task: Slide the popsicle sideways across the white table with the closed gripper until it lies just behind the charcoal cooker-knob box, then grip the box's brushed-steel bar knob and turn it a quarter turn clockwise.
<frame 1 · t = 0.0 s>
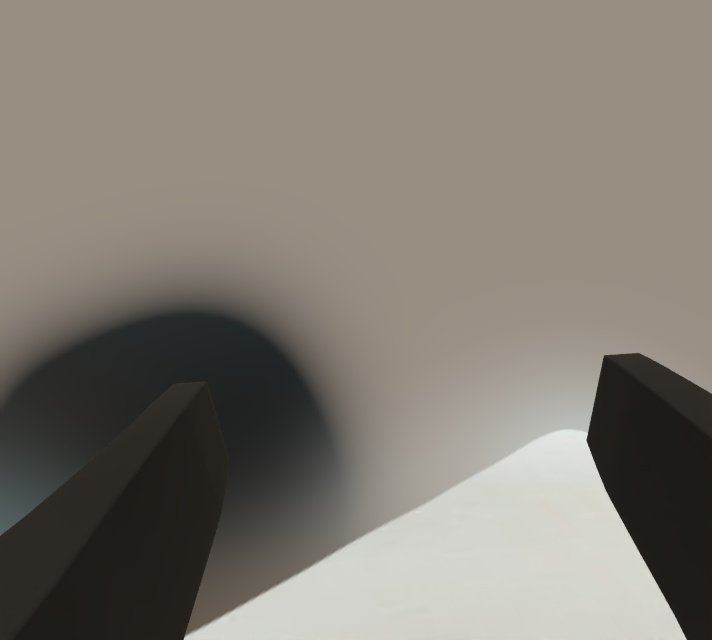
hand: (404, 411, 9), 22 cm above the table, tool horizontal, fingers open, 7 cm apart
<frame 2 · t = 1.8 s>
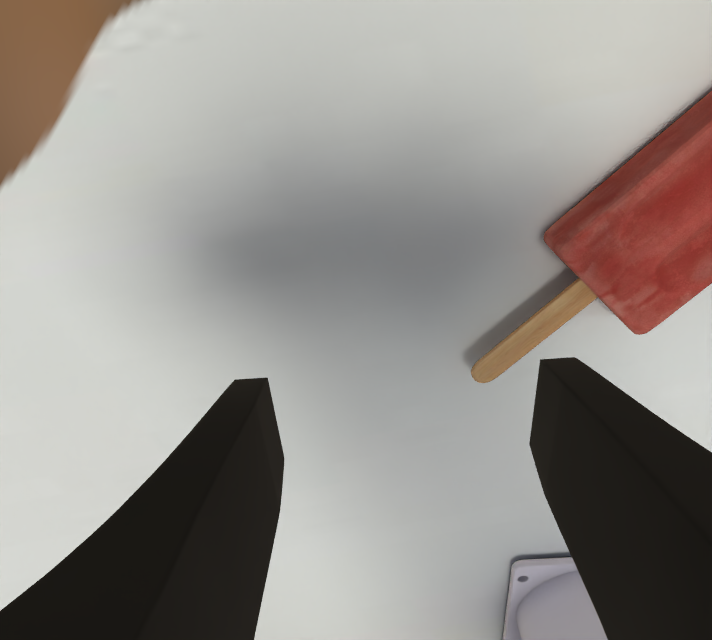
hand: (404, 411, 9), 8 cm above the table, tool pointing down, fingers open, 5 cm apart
popsicle: (641, 221, 17), on the table
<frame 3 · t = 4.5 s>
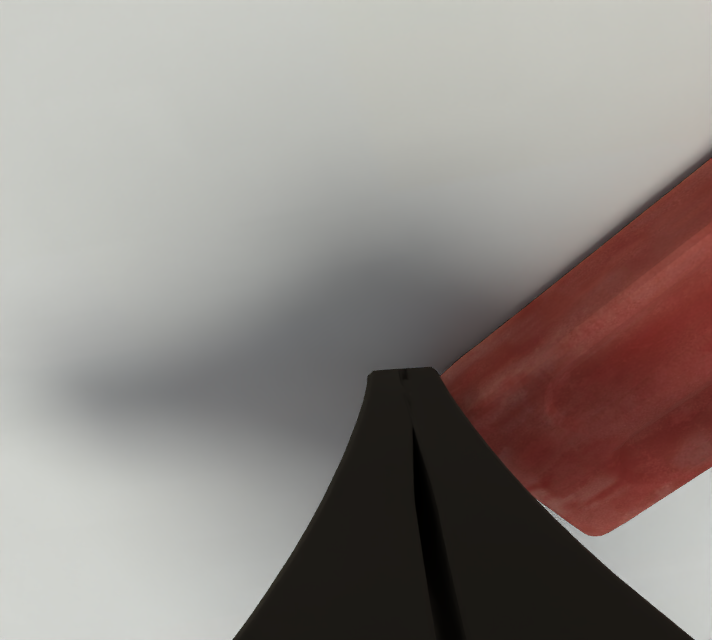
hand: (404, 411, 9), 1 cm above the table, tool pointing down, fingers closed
popsicle: (594, 356, 10), on the table, touching gripper
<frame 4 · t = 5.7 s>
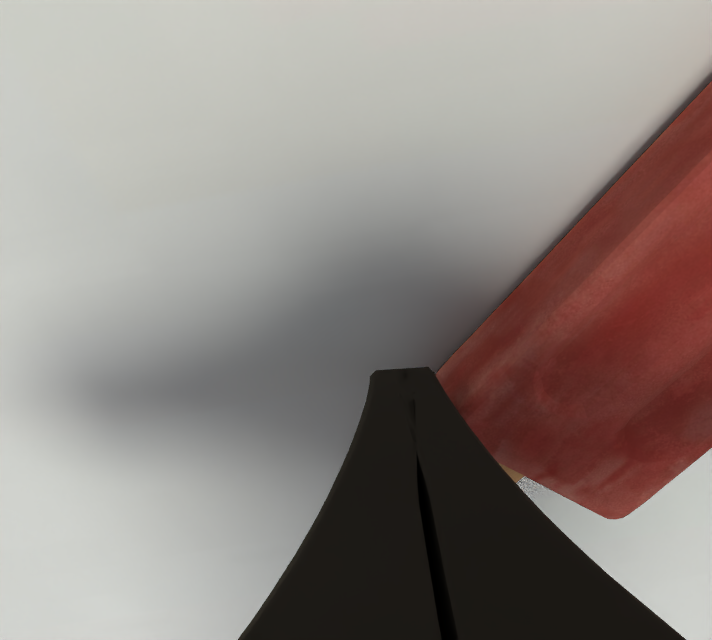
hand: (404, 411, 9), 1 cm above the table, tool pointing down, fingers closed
popsicle: (591, 336, 10), on the table, touching gripper
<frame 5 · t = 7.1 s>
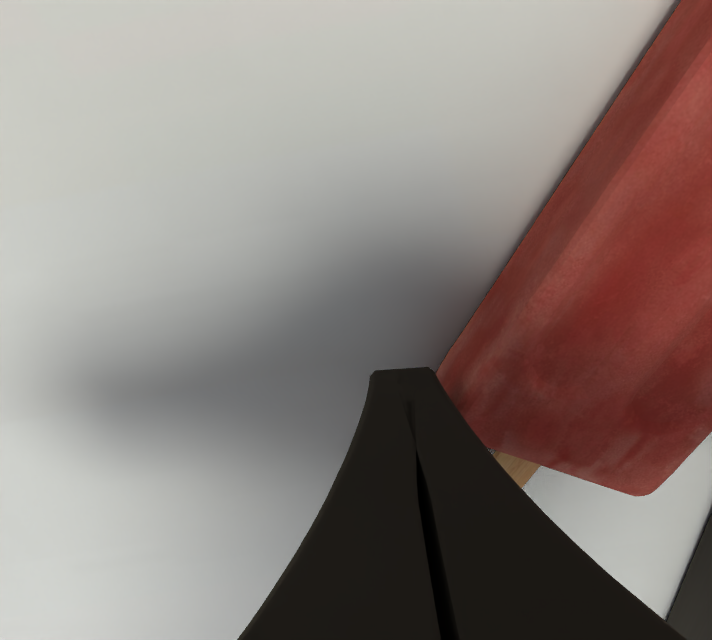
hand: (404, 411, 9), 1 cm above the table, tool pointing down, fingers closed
popsicle: (589, 312, 10), on the table, touching gripper
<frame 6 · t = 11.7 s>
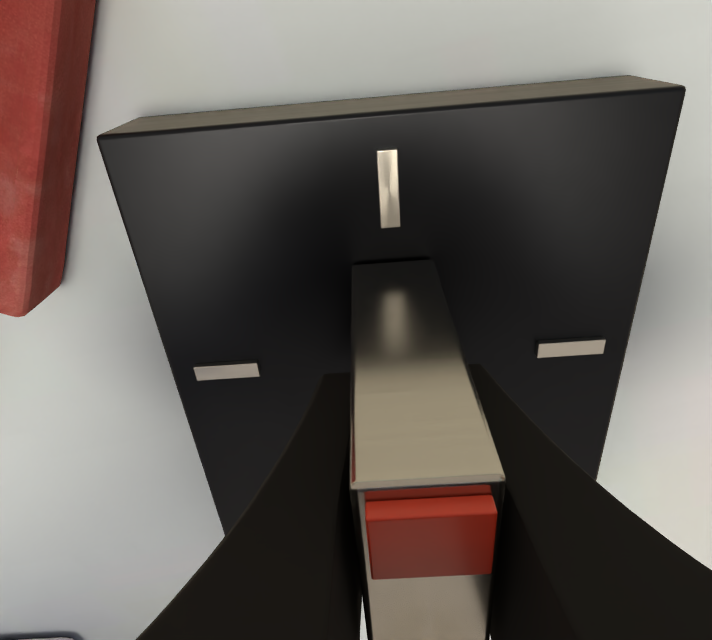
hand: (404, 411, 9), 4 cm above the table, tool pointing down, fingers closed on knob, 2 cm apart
knob: (408, 455, 8), point 5 cm above the table, hinge at -0.1°, touching gripper
knob box: (393, 360, 13), on the table
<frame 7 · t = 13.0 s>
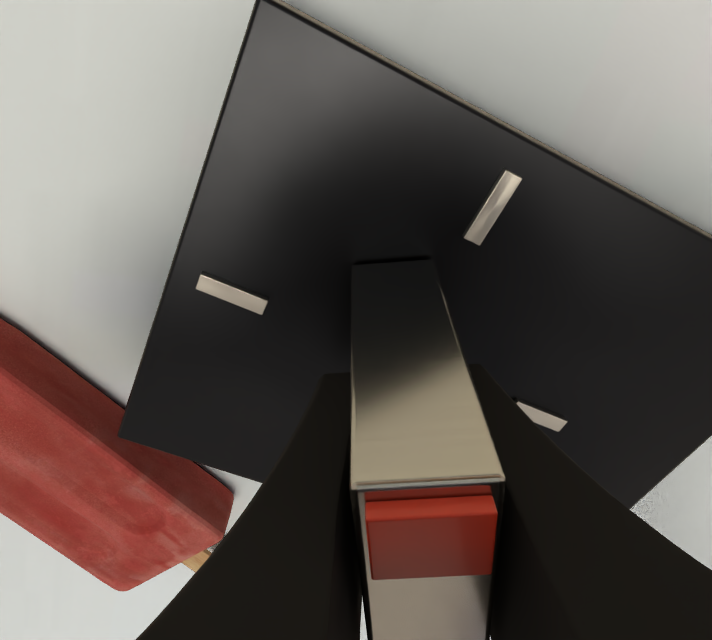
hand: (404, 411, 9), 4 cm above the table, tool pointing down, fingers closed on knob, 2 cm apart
popsicle: (131, 473, 16), on the table
knob: (409, 455, 8), point 5 cm above the table, hinge at -60.1°, touching gripper
knob box: (442, 333, 13), on the table
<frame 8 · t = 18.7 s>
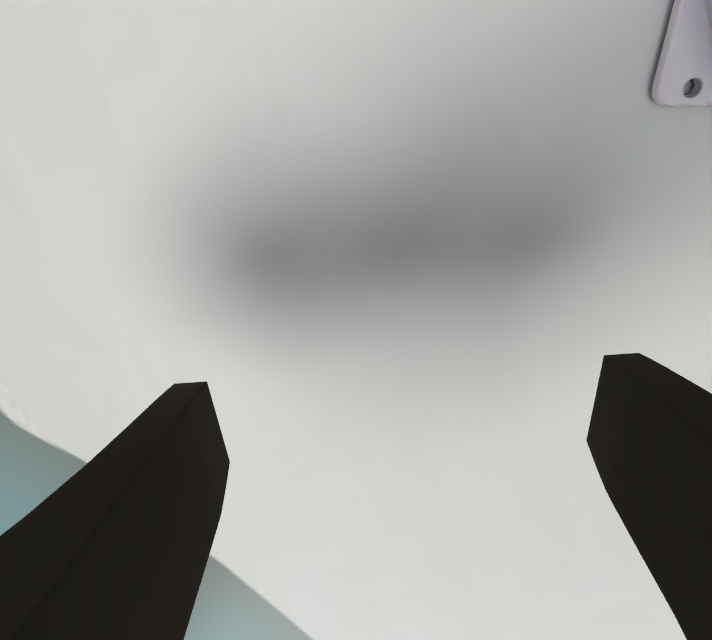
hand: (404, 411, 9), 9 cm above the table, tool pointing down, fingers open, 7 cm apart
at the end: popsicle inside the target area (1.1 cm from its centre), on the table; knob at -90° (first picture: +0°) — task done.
